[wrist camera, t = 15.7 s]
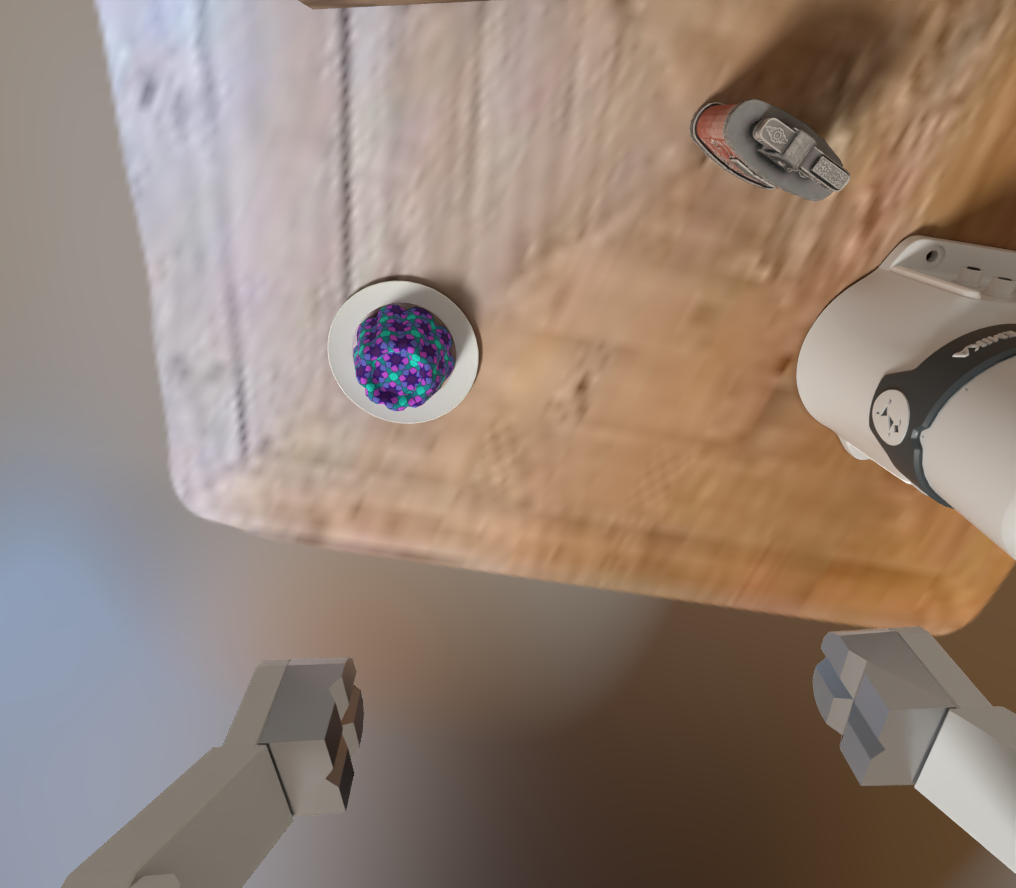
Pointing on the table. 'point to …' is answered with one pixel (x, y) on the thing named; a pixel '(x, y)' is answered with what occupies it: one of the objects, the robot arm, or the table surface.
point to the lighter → (768, 148)
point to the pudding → (402, 352)
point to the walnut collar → (369, 3)
